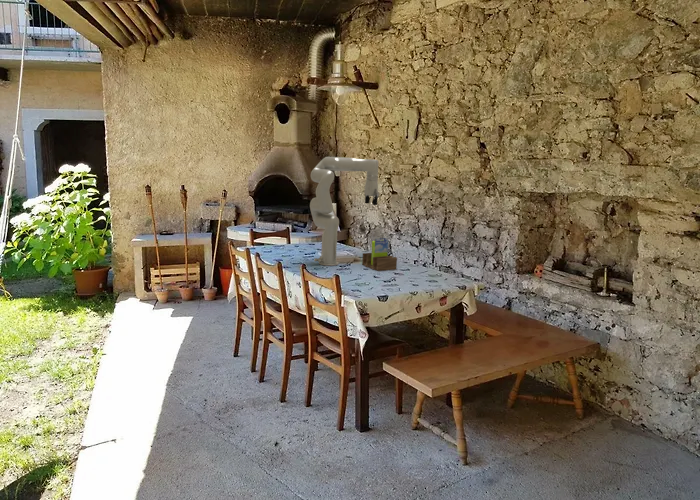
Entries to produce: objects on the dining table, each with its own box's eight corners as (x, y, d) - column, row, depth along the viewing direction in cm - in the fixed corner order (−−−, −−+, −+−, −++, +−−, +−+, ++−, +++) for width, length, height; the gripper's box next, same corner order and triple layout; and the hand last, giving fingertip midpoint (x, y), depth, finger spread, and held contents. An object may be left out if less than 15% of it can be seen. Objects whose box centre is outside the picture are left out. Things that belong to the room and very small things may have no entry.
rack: (396, 269, 349) (397, 257, 348) (377, 271, 342) (378, 259, 341) (380, 263, 364) (381, 252, 363) (362, 264, 357) (362, 253, 356)
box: (384, 263, 357) (385, 236, 354) (387, 264, 354) (389, 237, 350) (370, 264, 352) (371, 237, 348) (373, 266, 348) (375, 238, 345)
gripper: (360, 177, 377) (359, 202, 380) (374, 179, 362) (373, 205, 365) (370, 177, 380) (369, 202, 384) (383, 179, 366) (382, 205, 369)
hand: (370, 204), depth 375 cm, fingers open, 9 cm apart
